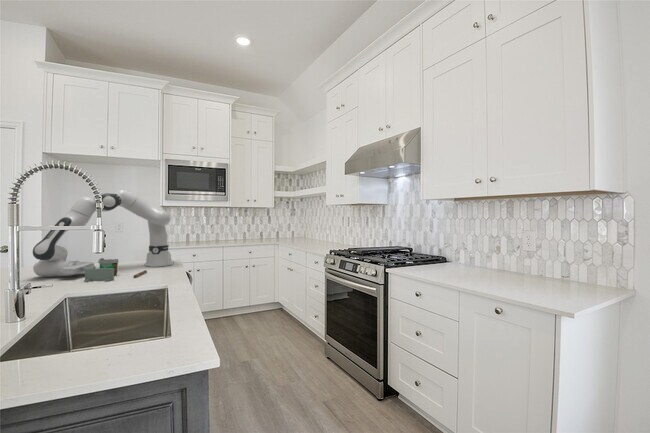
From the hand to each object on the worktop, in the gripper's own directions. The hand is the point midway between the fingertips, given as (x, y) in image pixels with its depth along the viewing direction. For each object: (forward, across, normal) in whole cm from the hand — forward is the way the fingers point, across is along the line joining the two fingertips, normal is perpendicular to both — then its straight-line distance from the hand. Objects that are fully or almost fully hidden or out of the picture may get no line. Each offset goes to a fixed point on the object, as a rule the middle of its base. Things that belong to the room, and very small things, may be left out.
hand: (94, 268), depth 186 cm
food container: (+6, 0, +5) cm, 8 cm away
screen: (+9, -14, +5) cm, 18 cm away
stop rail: (+25, 0, +5) cm, 25 cm away
